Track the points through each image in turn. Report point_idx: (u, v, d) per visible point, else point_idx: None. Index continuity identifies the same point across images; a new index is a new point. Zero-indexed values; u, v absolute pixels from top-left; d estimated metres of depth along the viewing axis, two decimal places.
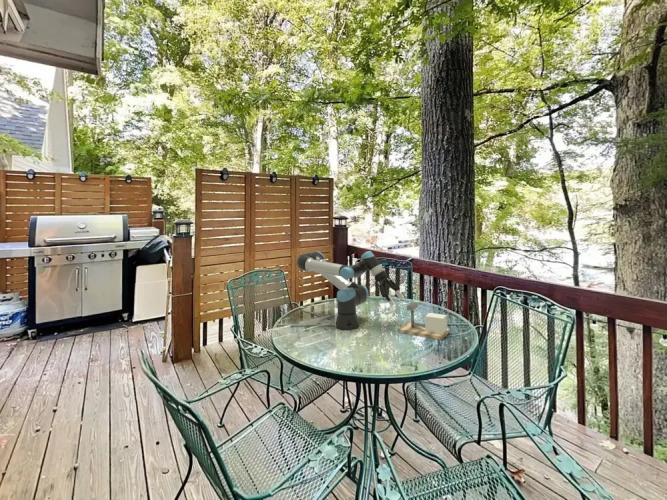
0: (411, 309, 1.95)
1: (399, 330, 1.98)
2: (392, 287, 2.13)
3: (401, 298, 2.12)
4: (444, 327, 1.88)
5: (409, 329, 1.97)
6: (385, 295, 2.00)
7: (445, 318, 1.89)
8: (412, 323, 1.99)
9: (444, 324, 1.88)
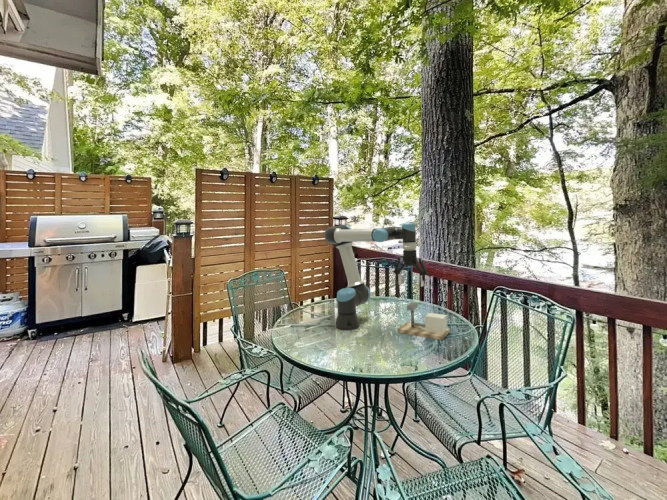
0: (411, 309, 1.95)
1: (399, 330, 1.98)
2: None
3: None
4: (444, 327, 1.88)
5: (409, 329, 1.97)
6: None
7: (445, 318, 1.89)
8: (412, 323, 1.99)
9: (444, 324, 1.88)
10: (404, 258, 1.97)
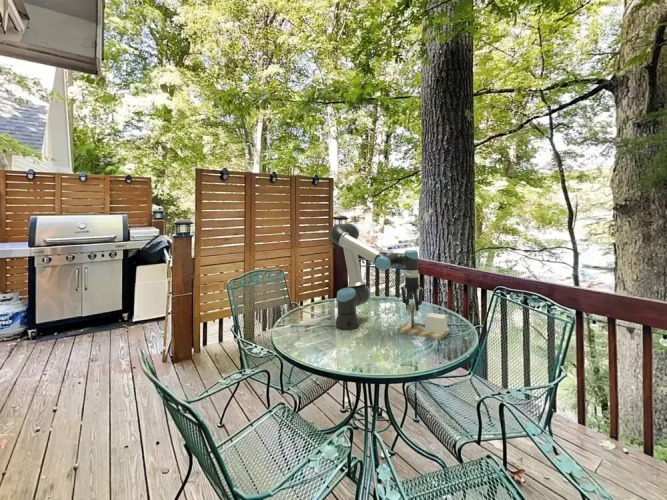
0: (411, 309, 1.95)
1: (399, 330, 1.98)
2: None
3: None
4: (444, 327, 1.88)
5: (409, 329, 1.97)
6: None
7: (445, 318, 1.89)
8: (412, 323, 1.99)
9: (444, 324, 1.88)
10: (405, 285, 1.98)
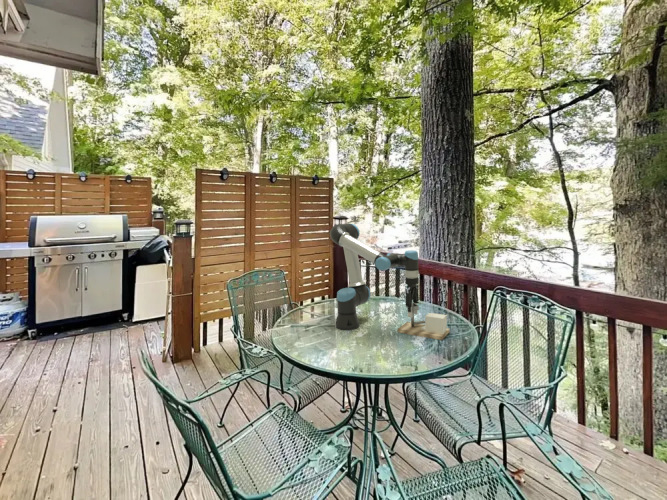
0: (417, 309, 1.95)
1: (399, 330, 1.98)
2: (413, 297, 2.00)
3: (414, 311, 2.02)
4: (444, 327, 1.88)
5: (409, 329, 1.97)
6: (409, 306, 1.93)
7: (445, 318, 1.89)
8: (414, 323, 1.99)
9: (444, 324, 1.88)
10: (411, 287, 1.94)
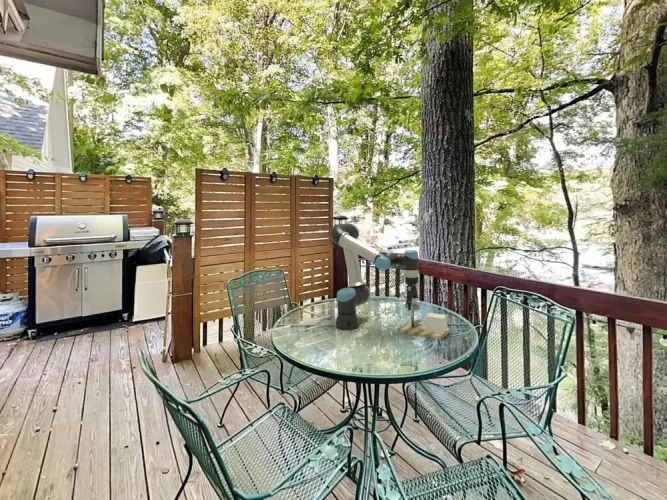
0: (419, 308, 1.96)
1: (399, 330, 1.98)
2: (413, 294, 2.02)
3: None
4: (444, 327, 1.88)
5: (409, 329, 1.97)
6: (409, 304, 1.90)
7: (445, 318, 1.89)
8: (414, 323, 1.99)
9: (444, 324, 1.88)
10: (412, 286, 1.94)
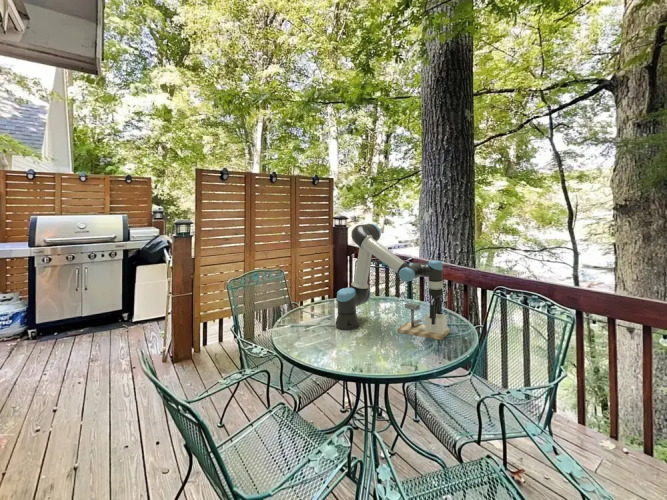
0: (419, 308, 1.96)
1: (399, 330, 1.98)
2: (437, 308, 1.93)
3: None
4: (444, 327, 1.88)
5: (409, 329, 1.97)
6: (433, 318, 1.86)
7: (445, 318, 1.89)
8: (414, 323, 1.99)
9: (444, 324, 1.88)
10: (435, 298, 1.87)
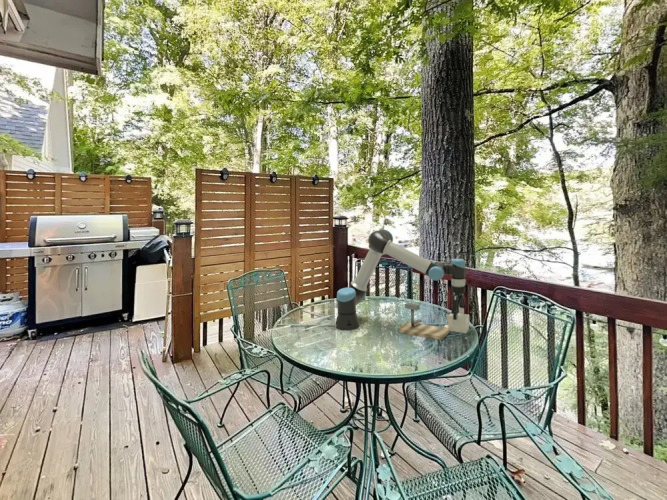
0: (419, 308, 1.96)
1: (399, 330, 1.98)
2: (460, 303, 2.00)
3: None
4: (467, 326, 1.94)
5: (409, 329, 1.97)
6: (455, 314, 1.89)
7: (468, 317, 1.95)
8: (414, 323, 1.99)
9: (467, 323, 1.94)
10: (459, 295, 1.92)
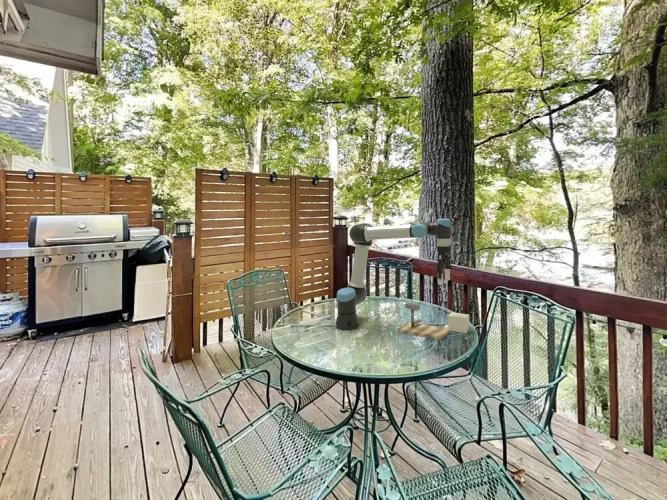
0: (419, 308, 1.96)
1: (399, 330, 1.98)
2: (446, 264, 1.98)
3: (447, 277, 2.00)
4: (467, 326, 1.94)
5: (409, 329, 1.97)
6: (440, 272, 1.87)
7: (468, 317, 1.95)
8: (414, 323, 1.99)
9: (467, 323, 1.94)
10: (444, 255, 1.90)
